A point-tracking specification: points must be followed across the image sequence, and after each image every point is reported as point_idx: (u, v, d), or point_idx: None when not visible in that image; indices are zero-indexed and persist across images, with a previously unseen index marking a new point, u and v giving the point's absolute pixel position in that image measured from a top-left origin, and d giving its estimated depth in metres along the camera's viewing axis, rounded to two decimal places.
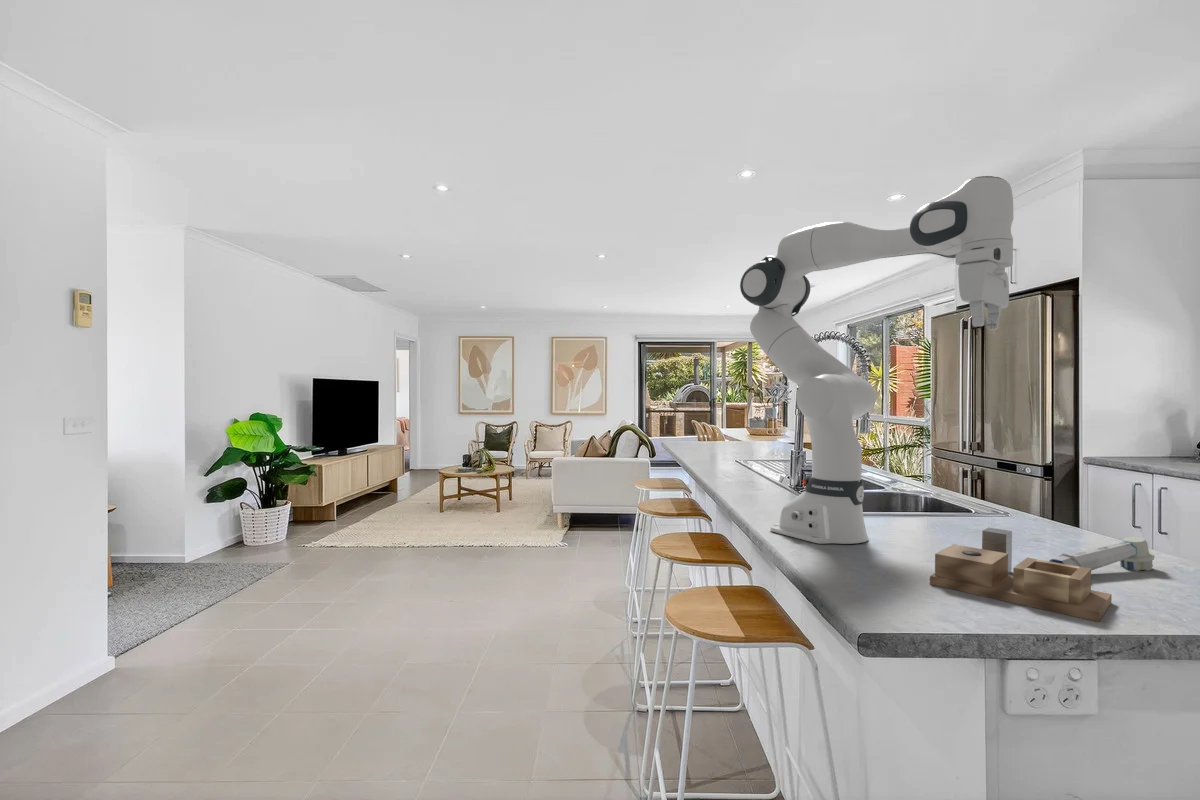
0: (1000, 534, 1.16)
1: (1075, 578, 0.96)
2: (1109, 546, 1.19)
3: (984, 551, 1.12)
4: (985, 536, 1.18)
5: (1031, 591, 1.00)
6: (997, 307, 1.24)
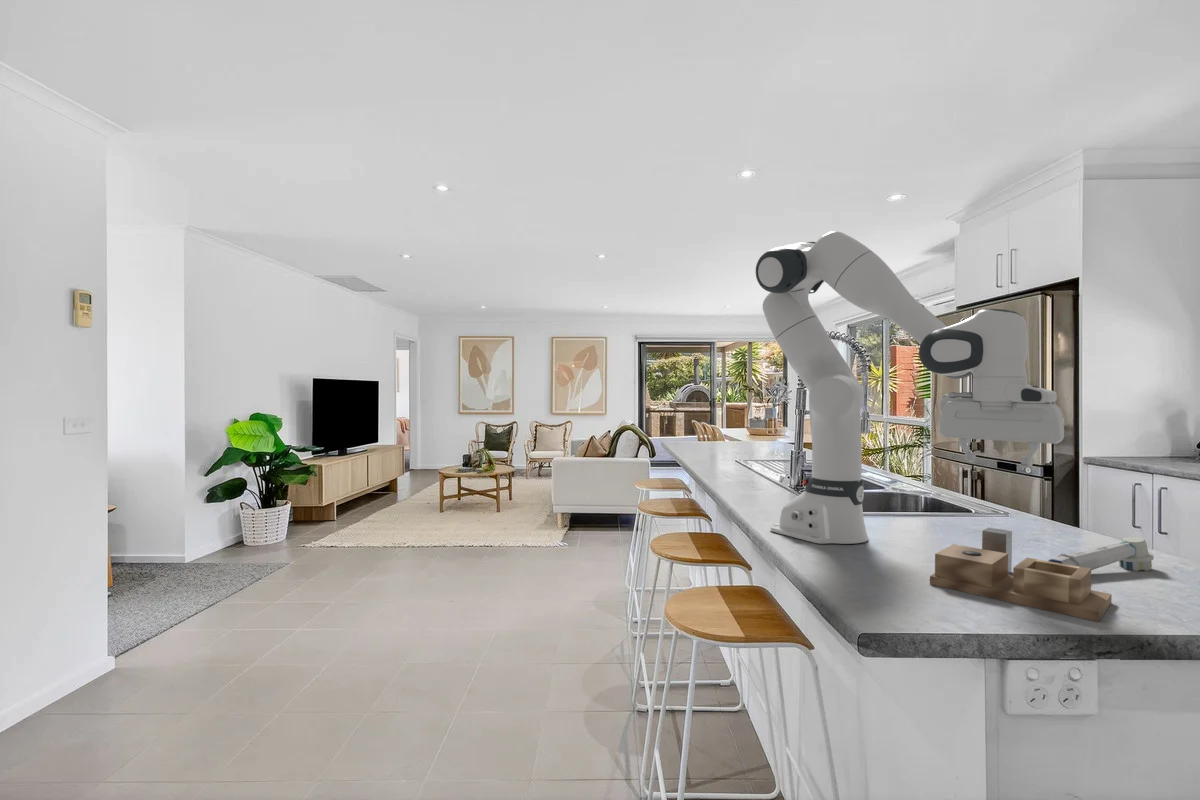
0: (1000, 534, 1.16)
1: (1075, 578, 0.96)
2: (1108, 546, 1.19)
3: (984, 551, 1.12)
4: (985, 536, 1.18)
5: (1031, 591, 1.00)
6: (969, 438, 1.22)
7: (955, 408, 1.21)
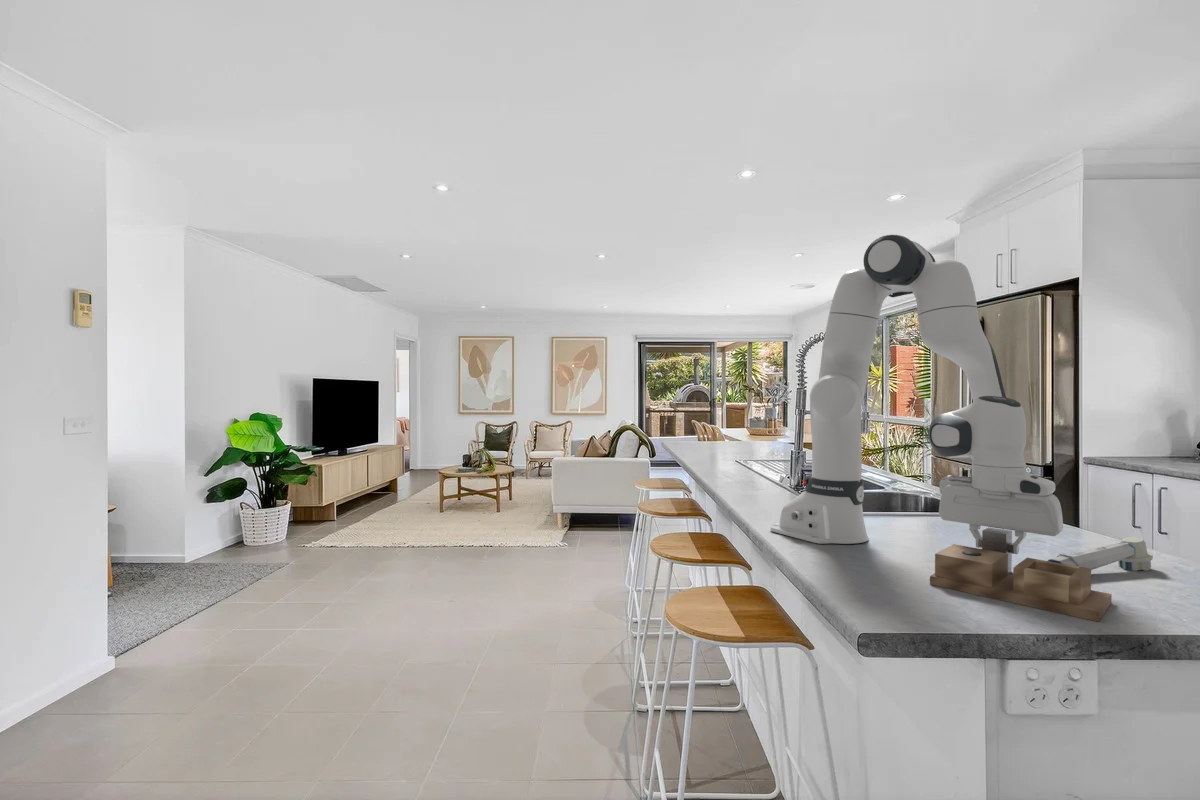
0: (1000, 534, 1.16)
1: (1075, 578, 0.96)
2: (1107, 546, 1.19)
3: (984, 551, 1.12)
4: (985, 536, 1.18)
5: (1031, 591, 1.00)
6: None
7: (954, 492, 1.22)
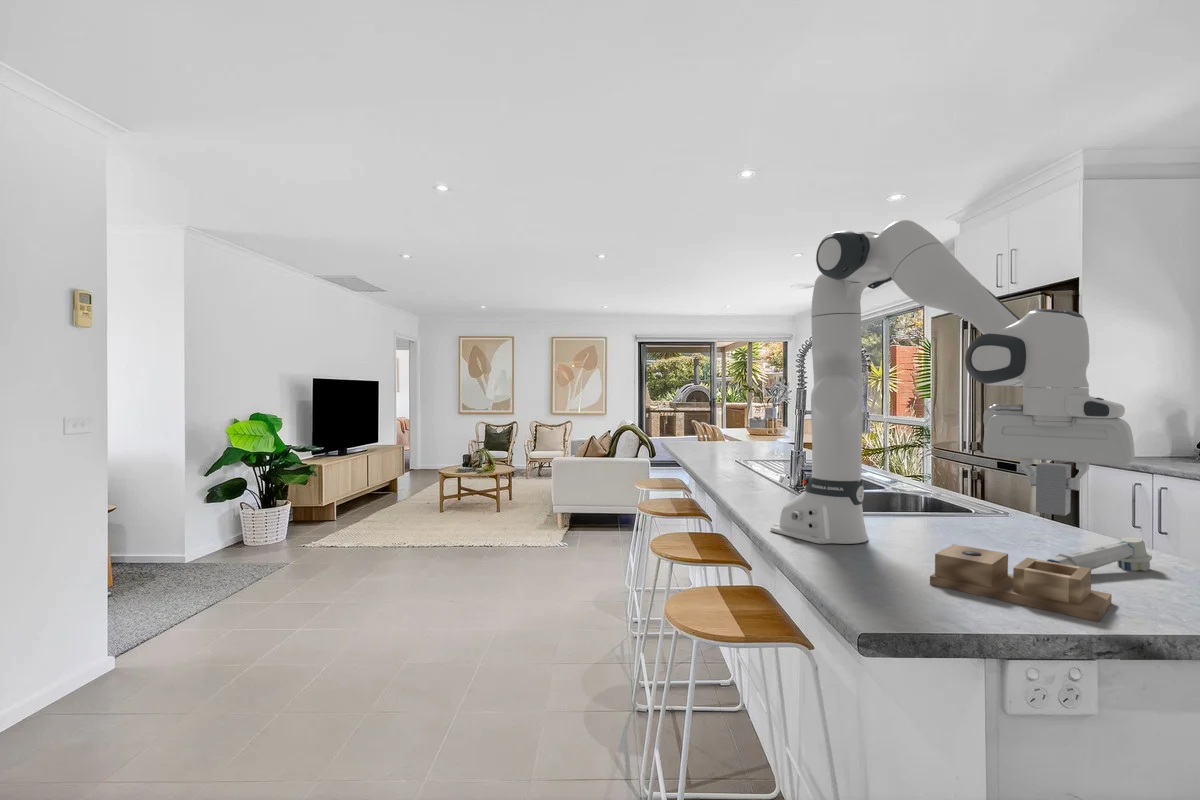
0: (1058, 467, 0.99)
1: (1075, 578, 0.96)
2: (1106, 546, 1.18)
3: (984, 551, 1.12)
4: (1040, 471, 1.01)
5: (1031, 591, 1.00)
6: None
7: (1002, 423, 1.05)
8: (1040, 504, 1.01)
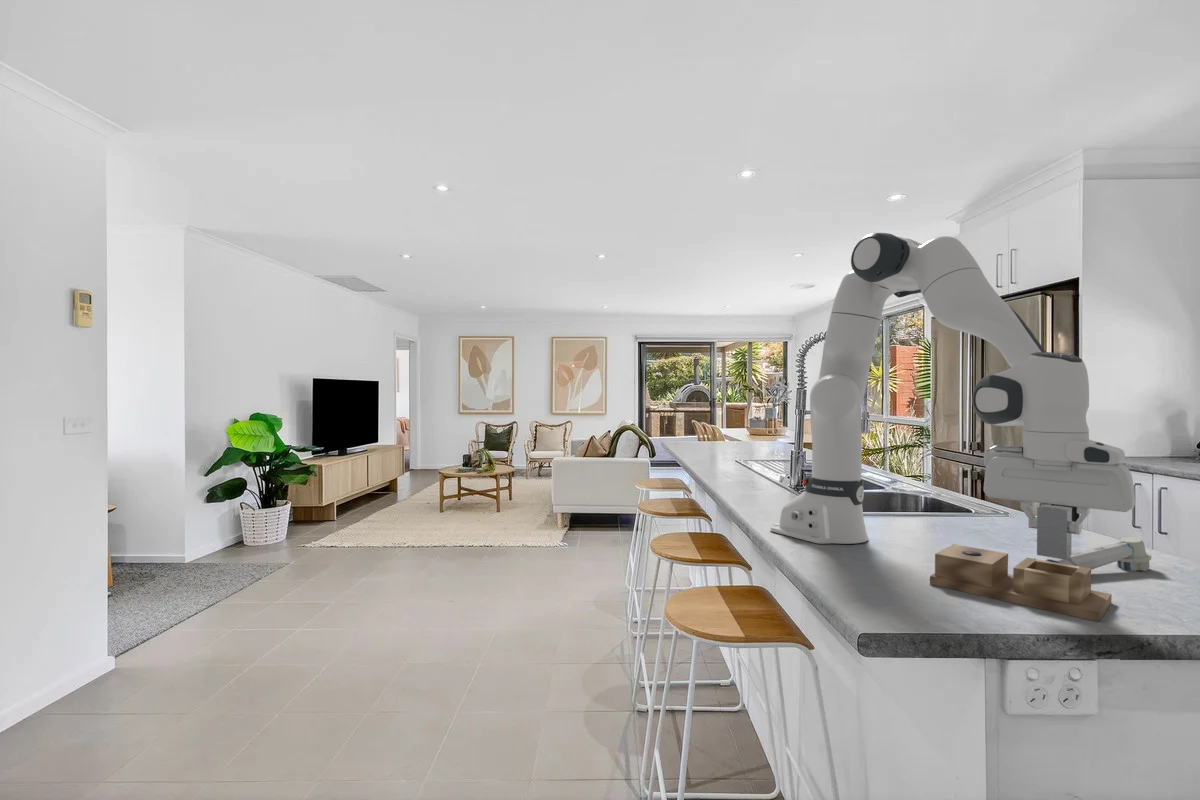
0: (1059, 511, 1.00)
1: (1075, 578, 0.96)
2: (1106, 546, 1.18)
3: (984, 551, 1.12)
4: (1041, 514, 1.01)
5: (1031, 591, 1.00)
6: None
7: (1002, 464, 1.05)
8: (1041, 547, 1.01)
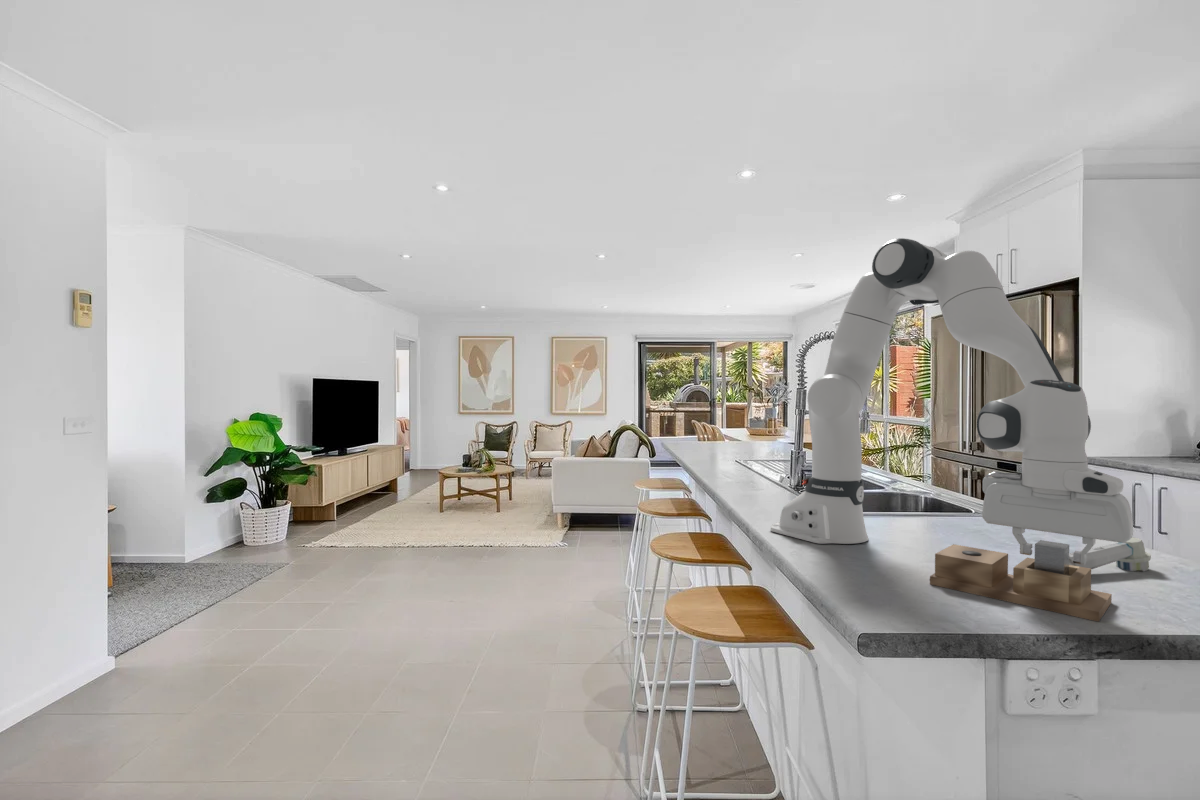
0: (1057, 548, 1.00)
1: (1075, 578, 0.96)
2: (1105, 546, 1.18)
3: (984, 551, 1.12)
4: (1038, 550, 1.02)
5: (1031, 591, 1.00)
6: None
7: (1001, 491, 1.06)
8: None
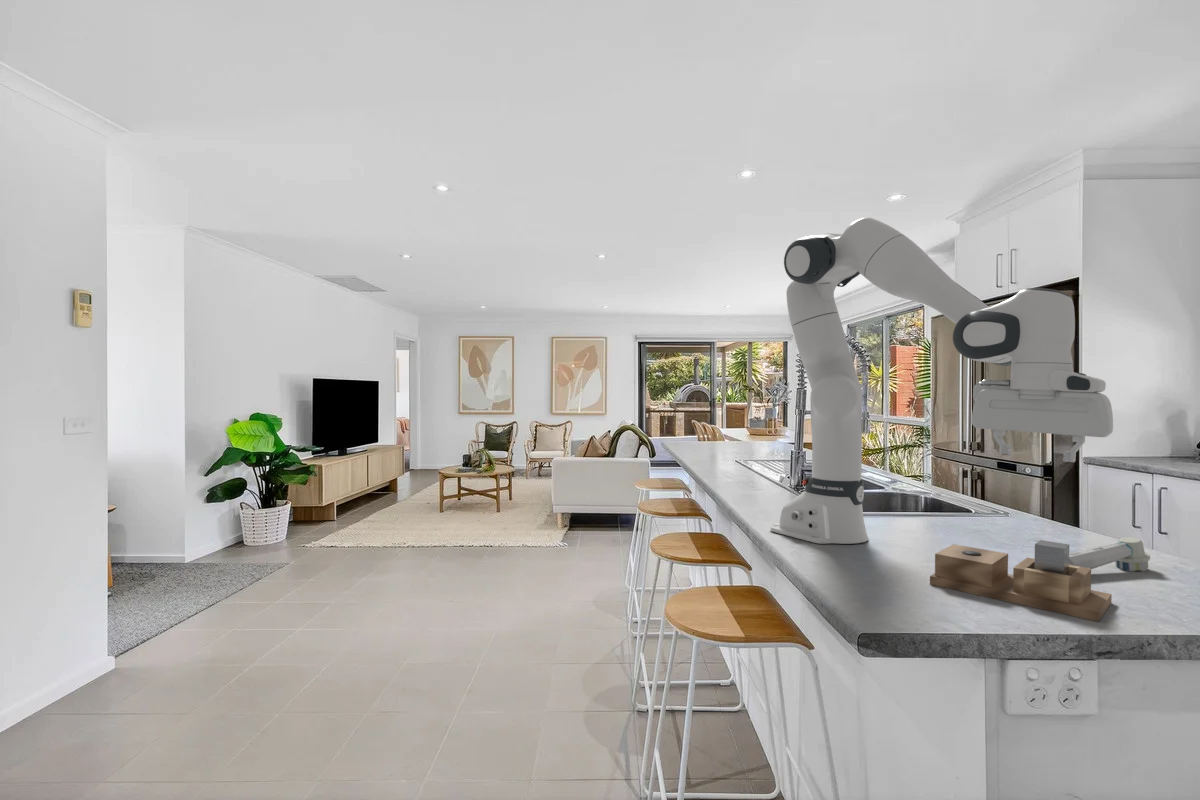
0: (1057, 548, 1.00)
1: (1075, 578, 0.96)
2: (1104, 546, 1.18)
3: (984, 551, 1.12)
4: (1038, 550, 1.02)
5: (1031, 591, 1.00)
6: (1004, 430, 1.11)
7: (990, 396, 1.11)
8: None
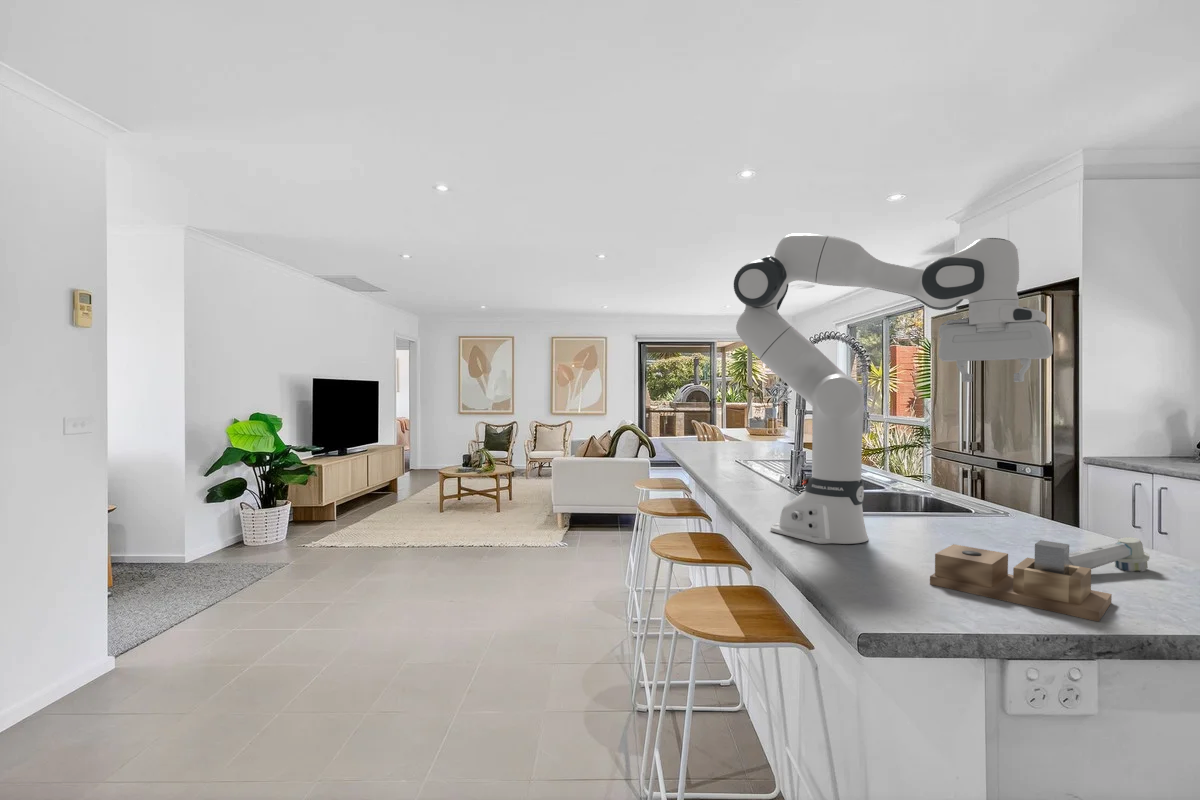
0: (1057, 548, 1.00)
1: (1075, 578, 0.96)
2: (1103, 547, 1.18)
3: (984, 551, 1.12)
4: (1038, 550, 1.02)
5: (1031, 591, 1.00)
6: (966, 361, 1.32)
7: (953, 333, 1.31)
8: None
